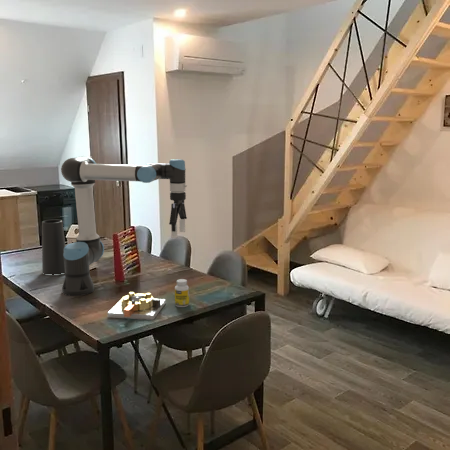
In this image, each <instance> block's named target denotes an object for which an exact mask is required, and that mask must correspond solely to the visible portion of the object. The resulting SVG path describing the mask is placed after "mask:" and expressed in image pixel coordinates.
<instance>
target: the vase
mask: <svg viewBox="0 0 450 450" xmlns="http://www.w3.org/2000/svg"><path fill="white" fill-rule="evenodd" d="M65 246H66V239H65V232H64V224H63V220H62V219H46V220H43V221H41V253H42V255H41V256H42V257H41V260H42V269H41V271H42V274H43V273H44V274H52V275H54V274H61V273H65V266H64V256H63V253H64V247H65Z"/></svg>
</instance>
